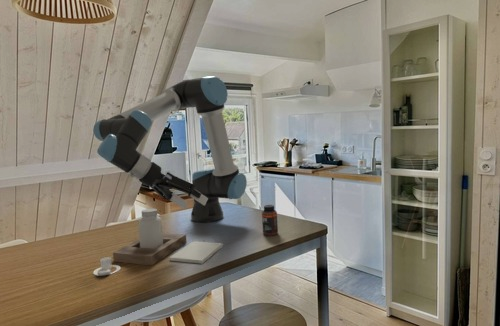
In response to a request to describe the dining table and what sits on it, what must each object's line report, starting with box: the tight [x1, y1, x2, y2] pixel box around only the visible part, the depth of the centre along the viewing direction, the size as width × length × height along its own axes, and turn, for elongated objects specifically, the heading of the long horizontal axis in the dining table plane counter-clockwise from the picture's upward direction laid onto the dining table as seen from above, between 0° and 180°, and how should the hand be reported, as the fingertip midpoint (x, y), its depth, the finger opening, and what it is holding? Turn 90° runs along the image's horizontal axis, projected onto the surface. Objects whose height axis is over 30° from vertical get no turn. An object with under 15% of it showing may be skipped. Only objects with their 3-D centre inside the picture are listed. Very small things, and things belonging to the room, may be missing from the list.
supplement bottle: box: [261, 204, 279, 237], centre depth 136 cm, size 6×6×11 cm
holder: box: [112, 232, 187, 266], centre depth 123 cm, size 22×15×3 cm
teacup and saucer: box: [92, 256, 121, 277], centre depth 108 cm, size 9×8×4 cm
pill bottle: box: [137, 208, 163, 249], centre depth 123 cm, size 8×8×15 cm
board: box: [169, 240, 224, 264], centre depth 120 cm, size 16×12×1 cm
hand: (195, 204), depth 121 cm, fingers open, 13 cm apart
